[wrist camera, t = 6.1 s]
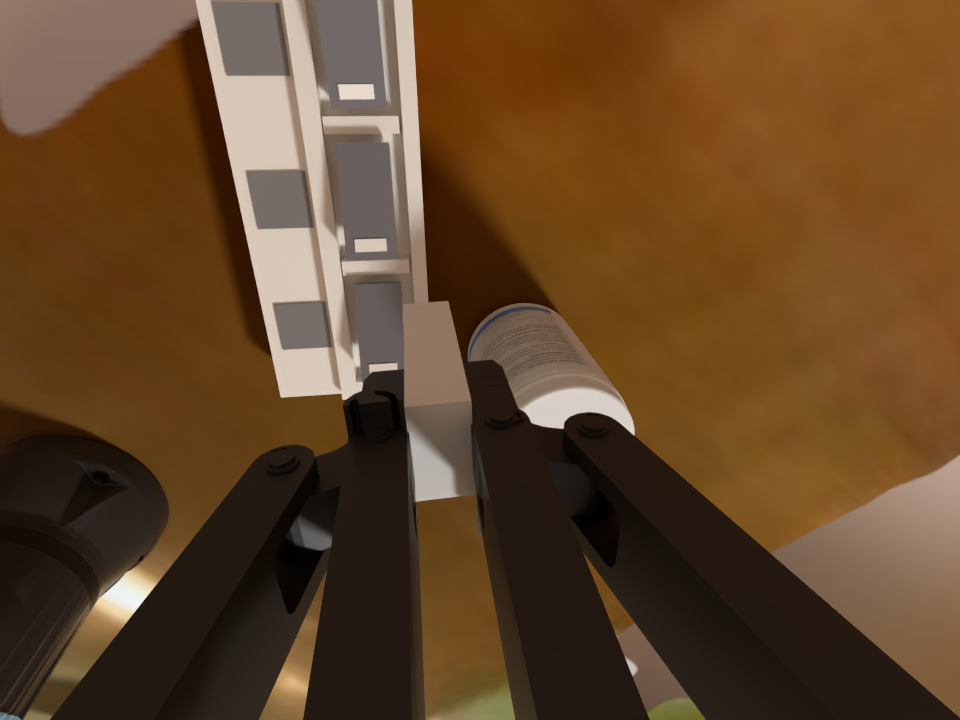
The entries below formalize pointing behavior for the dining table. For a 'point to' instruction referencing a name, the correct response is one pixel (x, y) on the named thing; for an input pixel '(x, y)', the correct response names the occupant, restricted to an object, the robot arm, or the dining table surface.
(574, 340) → the supplement tub
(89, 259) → the dining table surface
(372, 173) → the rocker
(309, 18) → the power strip
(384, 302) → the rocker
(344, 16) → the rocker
